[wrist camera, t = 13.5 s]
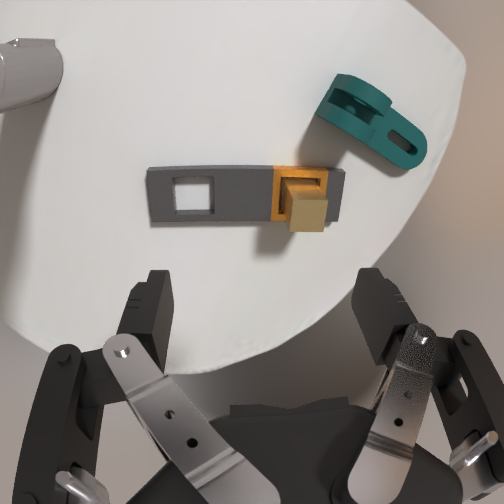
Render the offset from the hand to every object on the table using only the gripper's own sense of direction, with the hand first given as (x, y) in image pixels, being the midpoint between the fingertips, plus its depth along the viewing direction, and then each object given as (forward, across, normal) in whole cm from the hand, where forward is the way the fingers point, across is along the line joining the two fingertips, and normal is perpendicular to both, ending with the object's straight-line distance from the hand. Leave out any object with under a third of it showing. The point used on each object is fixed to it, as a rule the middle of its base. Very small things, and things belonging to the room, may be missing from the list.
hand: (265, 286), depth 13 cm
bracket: (+34, -20, -2) cm, 39 cm away
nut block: (+33, -8, +9) cm, 35 cm away
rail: (+33, -1, +9) cm, 34 cm away
